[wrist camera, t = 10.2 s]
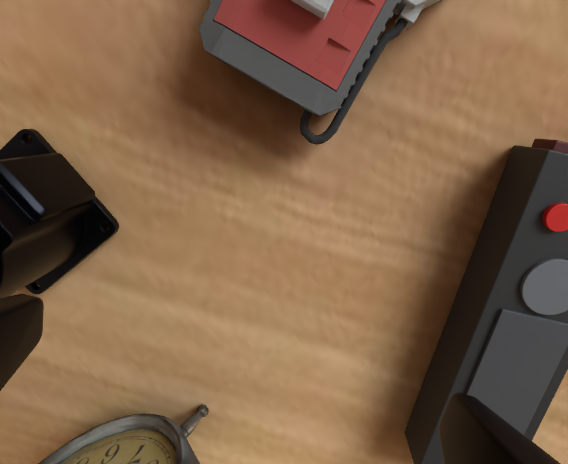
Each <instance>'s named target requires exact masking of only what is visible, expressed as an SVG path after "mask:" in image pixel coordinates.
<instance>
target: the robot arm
mask: <svg viewBox="0 0 568 464" xmlns="http://www.w3.org/2000/svg"><path fill="white" fill-rule="evenodd" d="M28 136H31V138H32V143H29V141H28ZM105 223H108V224H109V225H110V230H108V229H107V228H106V227H105ZM118 229H119V224H118V222H117V220H116V219H115V218H114V217H113V216H112V214H111V213H110V212H109V211H108V210H107V209H106V208H105V206H104V205H103V204H102V203H101V202H100V201H99V200H98V199H97V197H96V196H95V192H94V191H93V189H92V188H91V187H90V186H89V185H88V184H87V183H86V181H85V180H84V179H83V178H82V177H81V176H80V175H79V174H78V172H77V171H76V170H75V169H74V168H73V167H72V166H71V165H70V163H69V162H68V161H67V160H66V159H65V158H64V157H63V155H61V154H58V153H57V152H56V151H55V150H54V149H53V148H52V147H51V146H50V144H49V143H48V142H47V141H46V140H45V139H44V138H43V137H42V135H41V134H40V133H39V132H37V131H36V130H34V129H23V130H21V131H19V132H18V133H17V134H16V135H15V136H14V137H13V138H12V139H11V140H10V141H9V142H8V143H7V144H6V145H5V146H4V147H3V148H2V149H1V150H0V391H1V389H2V388H3V387H4V386H5V384H6V383H7V382H8V381H9V379H10V378H11V377H12V375H13V374H14V373H15V372H16V370H17V369H18V368H19V367H20V365H21V364H22V363H23V362H24V360H25V359H26V358H27V357H28V355H29V354H30V353H31V351H32V350H33V349H34V348H35V346H36V345H37V344H38V342H39V340H40V338H41V336H42V331H43V308H44V306H43V301H42V300H41V299H40V298H38V297H34V296H29V295H25V294H19V295H14V296H9V295H11V294H13V293H14V292H16V291H18V290H20V289H21V288H23V287H26V288H27V289H28V290H29V291H30V292H32V293H34V294H40V293H42V292H44V291H45V290H47V289H48V288H49V287H51V286H52V285H53V284H54V283H55V282H57V281H58V280H59V279H60V278H62V277H63V276H64V275H65V274H66V273H68V272H69V271H70V270H71V269H73V268H74V267H75V266H76V265H77V264H79V263H80V262H81V261H82V260H83V259H85V258H86V257H87V256H88V255H90V254H91V253H92V252H93V251H94V250H96V249H97V248H98V247H99V246H101V245H102V244H103V243H104V242H105V241H107V240H108V239H109V238H110V237H111V236H113V235H114V234H115V233H116V232H117V231H118ZM36 282H38V283H39V285H40V287H39V286H37V284H36ZM8 296H9V297H8ZM439 436H440V442H441V447H442V452H443V457H444V462H445V464H560V463H559V462H558V461H556V460H555V459H554V458H552V457H551V456H550V455H549V454H547V453H546V452H545V451H543V450H542V449H541V448H540V447H538V446H537V445H536V444H534V443H533V442H532V441H531V440H529V439H528V438H527V437H526V436H524V435H523V434H522V433H520V432H519V431H518V430H517V429H515V428H514V427H513V426H511V425H510V424H509V423H508V422H506V421H505V420H504V419H502V418H501V417H500V416H499V415H497V414H496V413H495V412H493V411H492V410H491V409H490V408H488V407H487V406H486V405H485V404H483V403H482V402H481V401H479V400H478V399H477V398H475V397H474V396H471V395H466V394H462V393H454V394H452V395H451V397H450V399H449V401H448V404H447V406H446V409H445V411H444V414H443V416H442V418H441V421H440V425H439Z"/></svg>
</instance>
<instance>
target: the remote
mask: <svg viewBox="0 0 568 464" xmlns="http://www.w3.org/2000/svg"><path fill="white" fill-rule="evenodd" d="M567 369H568V143H567V142H562V141H558V140H547V139H535V140H534V143H533V145H532V147H524V146H516V145H515V146H513V148H512V151H511V154H510V156H509V159H508V162H507V164H506V167H505V169H504V172H503V175H502V177H501V180H500V183H499V185H498V188H497V191H496V193H495V196H494V198H493V201H492V204H491V206H490V209H489V212H488V214H487V217H486V219H485V222H484V225H483V227H482V230H481V233H480V235H479V238H478V240H477V243H476V246H475V248H474V251H473V254H472V256H471V259H470V261H469V264H468V267H467V269H466V272H465V275H464V277H463V280H462V282H461V285H460V288H459V290H458V293H457V296H456V298H455V301H454V304H453V306H452V309H451V311H450V314H449V317H448V319H447V322H446V325H445V327H444V330H443V332H442V335H441V338H440V340H439V343H438V346H437V348H436V351H435V353H434V356H433V359H432V361H431V364H430V367H429V369H428V372H427V374H426V377H425V380H424V382H423V385H422V388H421V390H420V393H419V395H418V398H417V401H416V403H415V406H414V409H413V411H412V414H411V417H410V419H409V422H408V424H407V427H406V430H405V436H406V439H407V442H408V445H409V449H410V452H411V455H412V458H413V462H414V464H445V462H444V457H443V452H442V447H441V442H440V436H439V425H440V421H441V418H442V416H443V414H444V411H445V409H446V406H447V404H448V401H449V399H450V397H451V395H452V394H454V393H462V394H466V395H471V396H474V397H475V398H477V399H478V400H479V401H481V402H482V403H483V404H485V405H486V406H487V407H488V408H490V409H491V410H492V411H493V412H495V413H496V414H497V415H499V416H500V417H501V418H502V419H504V420H505V421H506V422H508V423H509V424H510V425H511V426H513V427H514V428H515V429H517V430H518V431H519V432H520V433H522V434H523V435H524V436H526V437H527V438H528V439H529V440H531V441H532V439H533V437H534V435H535V433H536V431H537V429H538V427H539V425H540V423H541V421H542V419H543V417H544V415H545V413H546V411H547V409H548V407H549V405H550V403H551V401H552V399H553V397H554V395H555V393H556V391H557V389H558V387H559V385H560V383H561V381H562V379H563V377H564V375H565V373H566V371H567Z"/></svg>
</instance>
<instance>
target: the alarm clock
mask: <svg viewBox="0 0 568 464" xmlns="http://www.w3.org/2000/svg"><path fill="white" fill-rule="evenodd" d="M208 410H209V409H208V408H207V407H206V405H201V406H200V407H199V408H198V412H197V413H196V414H194V415H192V416H191V417H189V418H188V419H187V420H186V421H185V422H184V423H183V424H182V425H181V426H180V427H179V426H178V425H177V424H176V423H175V422H174V421H172V420H171V419H169V418H166V417H164V416H160V415H155V414H135V415H130V416H125V417H121V418H118V419H115V420H112V421H109V422H106V423H104V424H101V425H99V426H97V427H95V428H92V429H90V430H89V431H87V432H85V433H83V434H81V435H80V436H78V437H76V438H74V439H72V440H71V441H69V442H68V443H67V444H65V445H63V446H62V447H61V448H59V449H58V450H56V451H55V452H53V453H52V454H50V455H49V456H48V457H46V458H45V459H44V460H42V461H41V462H40V463H39V464H200V463H199V461H198V459H197V457H196V456H195V454H194V452H193V450H192V448H191V446H190V445H189V443H188V441H187V439H186V438H187V437H188V436H189V435H190V434H191V432H192V431H193V429H194V428H195V427H196V425H197V423H198V422H199V420H200V419H201V418H202V417H205V416H206V415H207V414H208Z"/></svg>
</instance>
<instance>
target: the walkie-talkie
mask: <svg viewBox="0 0 568 464" xmlns="http://www.w3.org/2000/svg"><path fill="white" fill-rule="evenodd" d="M209 1H210V2H211V3H210V6H209V8H208V10H207V11H205V12H204V14H203V15H204V16H205V18H204V20H203V22H202V25H199V30H200V34H201V38H202V42H203V46H204V50H205V51H207V52H208V53H210V54H211V55H213V56H214V57H216V58H217V59H219V60H220V61H222V62H224V63H226V64H227V65H229V66H231V67H233V68H234V69H236V70H238V71H240V72H241V73H243V74H245V75H247V76H248V77H250V78H252V79H254V80H255V81H257V82H259V83H261V84H262V85H264V86H266V87H268V88H269V89H271V90H273V91H275V92H276V93H278V94H280V95H282V96H283V97H285V98H287V99H289V100H290V101H292V102H294V103H296V104H297V105H299V106H301V107H303V108H304V109H305V110H304V113H303V115H302V117H301V121H300V131H301V134H302V135H303V136H304V137H305V138H306V139H307V140H308V141H309V142H310V143H313V144H322V143H324V142H326V141H328V140H329V139H330V138H331V137H332V136H333V135H334V134H335V133H336V131H337V130H338V128H339V126H340V124H341V123H342V121H343V119H344V117H345V115H346V114H347V112H348V110H349V108H350V107H351V105H352V103H353V101H354V99H355V98H356V96H357V94H358V92H359V91H360V89H361V87H362V85H363V83H364V82H365V80H366V78H367V76H368V75H369V73H370V71H371V69H372V67H373V66H374V64H375V62H376V61H377V59H378V57H379V56H380V54H381V53H382V51H383V49H384V48H385V46H386V44H387V43H388V42H389V41H391V40H392V39H394V38H395V37H397V36H398V35H399V34H400V33H401V32H402V31H403V29H404V28H406V29H408V28H409V27H410V26H411V25H412V24H413V23H414V22H415V20H416V19H417V17H418V15H419V13H420V12H421V10H423V9H425V8H427V7H429V6H431V5H433V4H435V3H437V2H439V1H441V0H209ZM393 14H396V15H398V16H397V18H396V19H395V21H394V22H396V24H395V26H394V27H393V28H391V29H390V30H388V31H387V32H386V33H384V34H383V35H382V36H381V38H380V39H379V40H377V39H378V38H379V37H380V35H381V34H382V33H383V32H384V30H385V28H386V27H385V25H386V24H387V23H388V21H389V20H390V19H391V18H392V16H393ZM363 64H364V65H363ZM362 65H363V66H362ZM356 76H357V77H356ZM355 77H356V79H355ZM349 89H350V90H349ZM348 90H349V92H348ZM343 100H344V101H343ZM342 101H343V102H342ZM341 103H342V104H341ZM340 104H341V105H340ZM337 109H339V110H338V111H337V113H336V115H335V117H334V119H333V120H332V122H331V124H330V126H329V127H328V128H327V130H326V131H325V132H323V133H322V134H320V135H318V136H317V135H314V134H313V133H312V132H311V131H310V130H309V128H308V124H309V120H310V118H311V115H312V114H315V115H317V116H320V115H323V114H326V113H329V112H332V111H335V110H337Z"/></svg>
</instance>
